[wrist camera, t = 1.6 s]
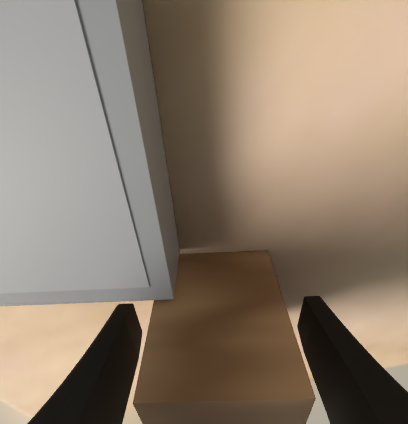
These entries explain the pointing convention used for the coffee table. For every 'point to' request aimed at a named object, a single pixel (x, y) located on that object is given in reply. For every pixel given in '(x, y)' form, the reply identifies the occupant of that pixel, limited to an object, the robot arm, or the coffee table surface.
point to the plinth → (81, 157)
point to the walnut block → (223, 348)
